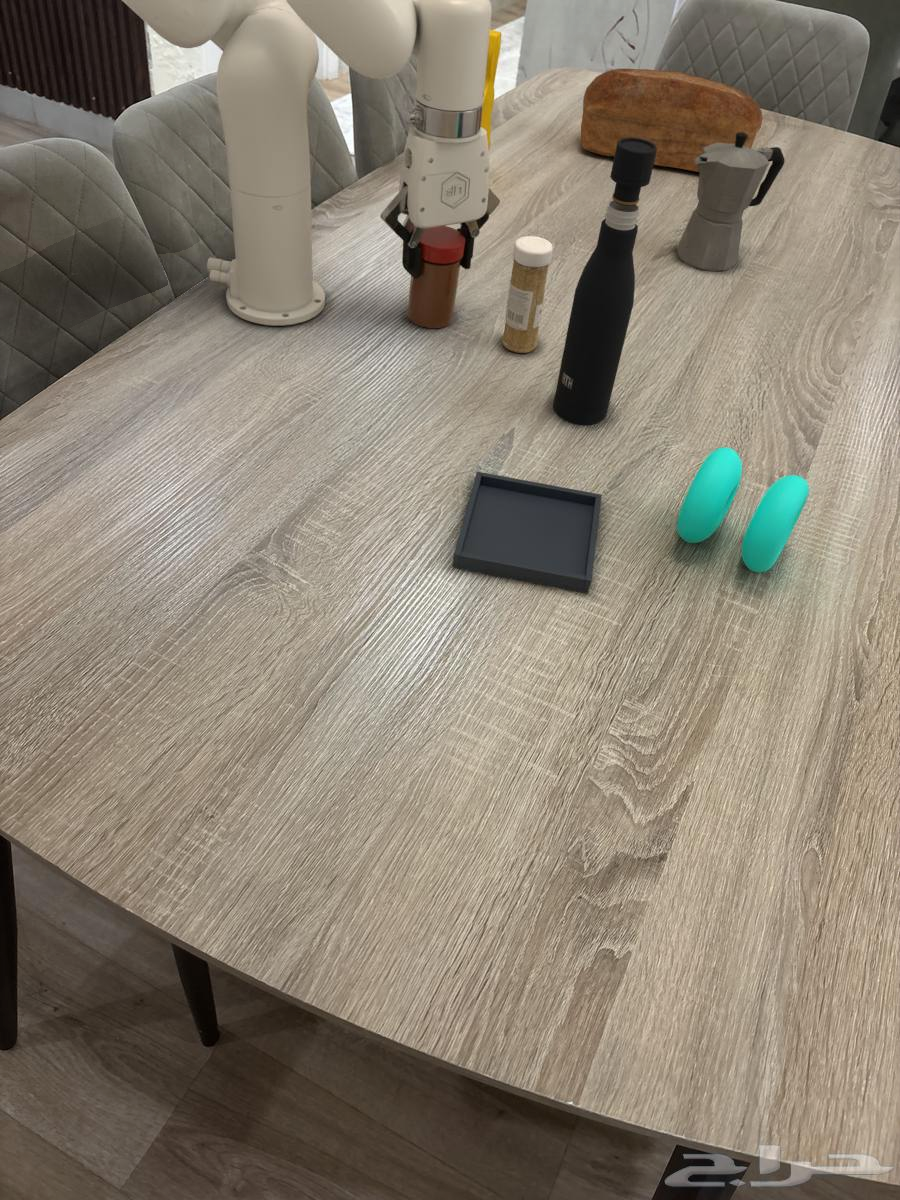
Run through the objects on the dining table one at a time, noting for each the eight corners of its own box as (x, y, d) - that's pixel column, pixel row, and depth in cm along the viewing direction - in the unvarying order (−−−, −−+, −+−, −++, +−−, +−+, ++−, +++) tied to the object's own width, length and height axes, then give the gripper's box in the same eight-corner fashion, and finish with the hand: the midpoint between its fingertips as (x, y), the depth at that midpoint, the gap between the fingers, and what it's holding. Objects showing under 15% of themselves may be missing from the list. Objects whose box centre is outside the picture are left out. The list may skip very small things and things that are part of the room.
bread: (745, 187, 163) (770, 103, 153) (571, 155, 166) (585, 71, 157) (747, 162, 171) (771, 81, 162) (581, 131, 175) (595, 51, 165)
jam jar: (402, 322, 121) (409, 247, 114) (412, 301, 125) (420, 227, 118) (447, 332, 120) (458, 257, 113) (456, 310, 125) (466, 236, 117)
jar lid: (452, 269, 114) (454, 254, 112) (403, 253, 115) (404, 238, 113) (470, 248, 118) (473, 233, 117) (423, 234, 119) (425, 219, 118)
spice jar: (543, 349, 120) (561, 247, 110) (514, 357, 118) (530, 255, 108) (522, 332, 122) (537, 231, 112) (493, 340, 120) (507, 238, 110)
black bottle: (611, 402, 112) (675, 140, 91) (600, 430, 108) (664, 163, 87) (560, 388, 114) (611, 127, 92) (546, 416, 109) (597, 149, 88)
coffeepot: (686, 277, 137) (722, 149, 124) (652, 248, 143) (684, 122, 130) (771, 265, 142) (814, 141, 129) (735, 238, 148) (773, 116, 135)
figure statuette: (459, 155, 162) (472, 9, 146) (502, 165, 160) (520, 19, 145) (421, 192, 150) (431, 37, 134) (467, 203, 148) (482, 48, 133)
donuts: (757, 596, 91) (793, 518, 84) (662, 553, 94) (689, 474, 87) (788, 540, 97) (824, 463, 90) (699, 502, 100) (726, 425, 93)
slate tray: (452, 567, 90) (453, 554, 89) (475, 483, 99) (476, 471, 98) (588, 593, 89) (591, 580, 88) (598, 506, 98) (601, 494, 97)
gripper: (393, 138, 100) (388, 294, 112) (530, 121, 106) (511, 271, 119) (363, 113, 104) (361, 266, 117) (497, 98, 111) (481, 245, 123)
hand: (437, 267), depth 118 cm, fingers closed on jar lid, 6 cm apart
